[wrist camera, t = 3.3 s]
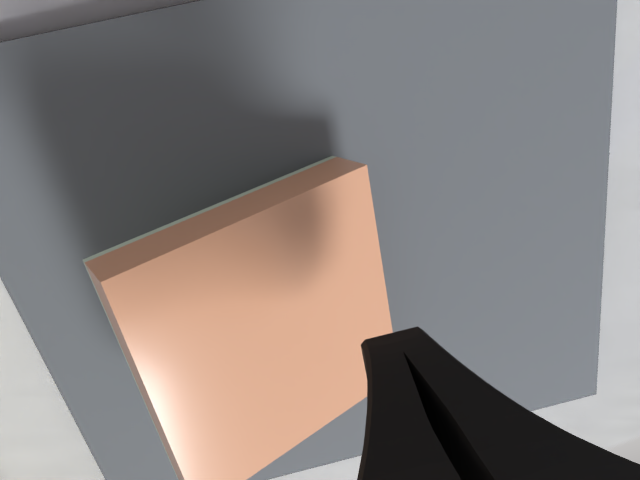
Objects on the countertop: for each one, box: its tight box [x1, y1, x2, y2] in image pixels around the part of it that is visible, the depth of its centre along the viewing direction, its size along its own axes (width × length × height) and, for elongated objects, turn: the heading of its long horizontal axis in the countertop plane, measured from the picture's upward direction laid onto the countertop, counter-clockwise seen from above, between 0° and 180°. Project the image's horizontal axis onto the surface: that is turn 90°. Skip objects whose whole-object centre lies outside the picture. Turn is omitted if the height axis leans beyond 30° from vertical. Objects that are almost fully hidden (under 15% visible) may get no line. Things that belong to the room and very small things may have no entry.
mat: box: [0, 0, 617, 480], centre depth 17 cm, size 18×16×1 cm
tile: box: [83, 156, 393, 480], centre depth 15 cm, size 2×7×7 cm
